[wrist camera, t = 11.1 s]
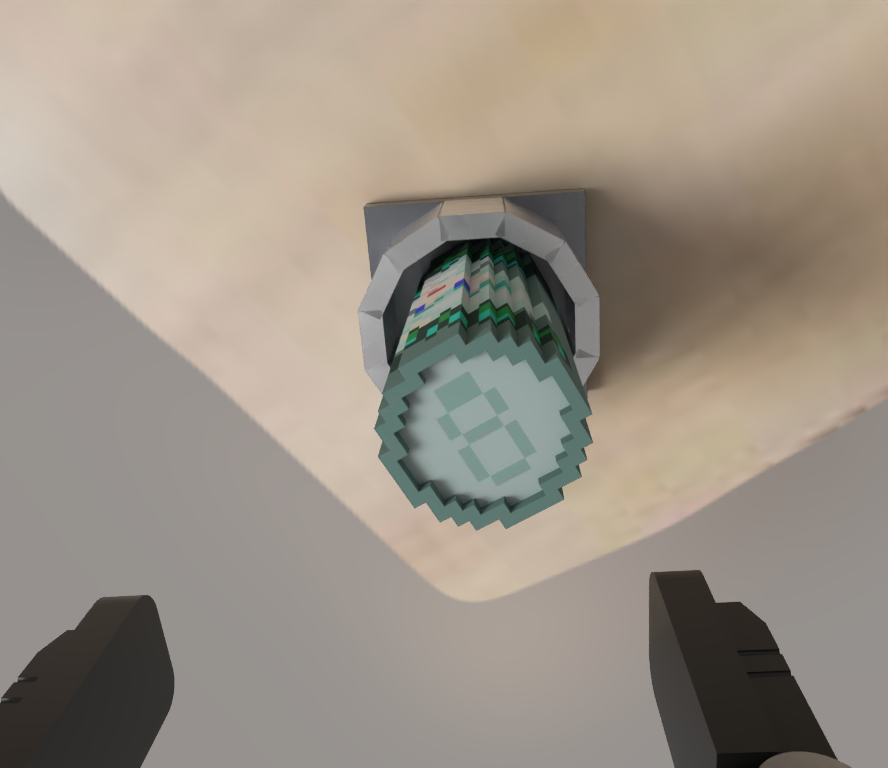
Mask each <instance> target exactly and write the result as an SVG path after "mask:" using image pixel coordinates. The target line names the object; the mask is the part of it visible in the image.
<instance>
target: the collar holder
mask: <svg viewBox="0 0 888 768" xmlns="http://www.w3.org/2000/svg"><path fill="white" fill-rule="evenodd" d="M364 215H365V224H366V233H367V242H368V252H369V261H370V270H371V279H372V281H371V283H370V285H369V287H368V289H367V291H366V294H365V296H364V298H363V300H362V302H361V305H360V307H359V309H358V317H359V325H360V334H361V342H362V351H363V359H364V368H365V370H366V371H365V372H366V373H367V374H368V376H369V377H370V378H371V380H372V381H373V382H374V384H375V385H376V386H377V388H378V389H379V390H380V392H381V393H382V392H383V389H384V386H385V383H386V380H387V377H388V374H389V371H390V368H391V365H392V362H393V359H394V356H395V353H396V350H397V347H398V345H399V342H400V339H401V336H402V333H403V330H404V327H405V324H406V321H407V318H408V315H409V312H410V309H411V306H412V303H413V300H414V297H415V294H416V291H417V288H418V285H419V282H420V279H421V277H423V276H424V275H426V274H427V273H428V270H429V266H430V263H431V261H432V260H434V259H435V258H437V257H439V256H440V255H442V254H444V253H445V252H447V251H448V250H450V249H452V248H453V247H455V246H457V245H458V244H460V243H461V242H463V241H465V240H466V239H469V240H470V242H471V243H472V245H475V244H477V243H478V242H480V241H482V240H483V239H485V238H489V239H490V241H491V242H492V244H494V243H495V242H497V241H499V240H501V242H502V243H503V245H504V247H506V246H507V245H509V244H511V243H513V244H514V246H515V248H516V249H517V251H518V253H519V254H520V256H521V257H523V256H524V255H526V254H528V253H529V254H530V256H531V257H532V259H533V261H534V262H535V264H536V266H537V267H538V269H539V271H540V273H541V274H542V276H543V278H544V279H545V281H546V283H547V284H548V286H549V288H550V290H551V293H552V296H553V299H554V302H555V305H556V308H557V311H558V313H559V316H560V319H561V322H562V325H563V328H564V331H565V334H566V337H567V340H568V343H569V346H570V349H571V352H572V355H573V358H574V361H575V364H576V367H577V370H578V373H579V376H580V379H581V382H582V385H583V388H584V391H585V394H586V397H587V379H588V377H589V375H590V374H591V372H592V370H593V369H594V367H595V365H596V363H597V362H598V360H599V357H600V301H599V294H598V292H597V291H596V289H595V287H594V285H593V284H592V282H591V280H590V278H589V276H588V275H587V273H586V231H585V191H584V190H583V189H568V190H554V191H540V192H526V193H512V194H498V195H484V196H470V197H456V198H441V199H427V200H413V201H399V202H385V203H371V204H366V205H365V206H364Z"/></svg>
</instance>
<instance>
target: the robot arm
mask: <svg viewBox="0 0 888 768" xmlns="http://www.w3.org/2000/svg"><path fill="white" fill-rule="evenodd" d="M649 661H650V670H651V678H652V685H653V690H654V694H655V698H656V702H657V706H658V709H659V713H660V717H661V720H662V724H663V727H664V731H665V734H666V738H667V742H668V745H669V748H670V752H671V756H672V759H673V763H674V767H675V768H851V767H850V766H848V765H846V764H844V763H842V762H840V761H838V759H837V758H836V756H835V754H834V752H833V751H832V749H831V747H830V745H829V743H828V741H827V739H826V737H825V735H824V733H823V731H822V730H821V728H820V726H819V724H818V722H817V720H816V718H815V716H814V714H813V713H812V710H811V708H810V707H809V705H808V703H807V701H806V699H805V697H804V695H803V693H802V691H801V690H800V688H799V686H798V684H797V682H796V680H795V678H794V676H791V671H790V669H789V667H788V665H787V663H786V661H785V659H784V657H783V655H782V654H780V652H779V648H778V646H777V644H776V642H775V640H774V638H773V636H772V634H771V632H770V631H769V629H768V627H767V625H766V623H765V622H764V621H762V620H761V619H760V618H759V617H758V616H756V615H755V614H754V613H753V612H752V611H750V610H749V609H748V608H747V607H746V606H744V605H743V604H742V603H741V602H727V603H715V600H714V598H713V596H712V594H711V592H710V589H709V587H708V585H707V583H706V581H705V578H704V576H703V574H702V572H701V571H700V570H691V571H670V572H651V574H650V579H649ZM173 694H174V673H173V668H172V664H171V660H170V656H169V652H168V648H167V645H166V641H165V637H164V633H163V629H162V626H161V622H160V618H159V614H158V611H157V607H156V604H155V602H154V600H153V599H152V598H151V597H150V596H148V595H140V596H120V597H102V598H100V599H99V600H97V601H96V603H95V604H94V605H93V607H92V608H91V609H90V610H89V612H88V613H87V614H86V615H85V617H84V618H83V619H82V621H81V622H80V623H79V625H78V626H77V627H76V629H75V630H67V631H66V632H64V633H63V634H62V635H60V636H59V637H58V638H56V639H55V640H54V641H52V642H51V643H50V644H48V645H47V646H46V647H44V648H43V649H42V650H41V651H39V652H38V653H37V654H36V655H35V657H34V658H33V659H32V660H31V662H30V663H29V664H28V665H27V667H26V668H25V669H24V670H23V672H22V673H21V674H20V675H19V677H18V682H15V683H13V684H12V685H11V687H10V688H9V689H8V690H7V692H6V693H5V694H4V695H3V697H2V698H1V703H0V768H140V767H141V765H142V763H143V761H144V759H145V757H146V755H147V753H148V751H149V749H150V748H151V746H152V744H153V742H154V740H155V738H156V736H157V734H158V732H159V730H160V728H161V726H162V724H163V722H164V720H165V718H166V716H167V714H168V712H169V709H170V707H171V704H172V699H173Z"/></svg>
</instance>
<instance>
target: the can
mask: <svg viewBox="0 0 888 768" xmlns="http://www.w3.org/2000/svg"><path fill="white" fill-rule="evenodd" d="M382 395H383V398H382V401H381V404H380V407H379V410H378V412H379V416H378V419H377V422H376V425H375V428H374V429H375V431H376V432H377V434H378V435H379V436H380V438H381V439H382V445H381V448H380V452H379V455H378V457H379V459H380V460H381V462H382V463H383V464H384V466H385V467H386V469H387V470H388V471H389V473H390V474H391V476H392V477H393V478H394V480H395V481H396V483H397V484H398V486H399V487H400V488H401V490H402V491H403V493H404V494H405V495H406V497H407V498H408V500H409V501H410V502H411V504H412V505H413V507H414V508H416V507H418V506H420V505H422V504H424V503H427V505H428V506H429V508H430V509H431V510H432V512H433V513H434V515H435V516H436V517H437V519H438V520H439V522H442V521H444V520H446V519H448V518H450V517H452V518H453V520H454V521H455V523H456V524H457V526H458V527H459V526H461V525H462V524H464V523H466V522H468V521H470V522H471V524H472V525H473V527H474V528H475V529H476V531H477V530H479V529H481V528H483V527H485V526H487V525H489V524H491V523H493V522H495V521H496V520H498V519H499V520H500V521H501V523H502V524H503V526H504V527H505V529H507V528H509V527H511V526H513V525H515V524H517V523H519V522H521V521H523V520H525V519H527V518H529V517H531V516H533V515H535V514H537V513H539V512H541V511H543V510H545V509H547V508H548V507H550V506H552V505H554V504H556V503H558V502H560V501H562V500H564V496H563V491H562V487H563V486H565V485H567V484H569V483H571V482H573V481H575V480H577V479H578V478H580V477H582V476H581V472H580V468H579V464H580V463H582V462H584V461H586V460H587V457H586V453H585V450H584V447H586V446H588V445H590V444H592V443H593V441H592V438H591V435H590V431H589V428H588V425H587V422H586V417H588V416H590V415H592V412H591V409H590V406H589V403H588V400H587V397H586V394H585V391H584V388H583V385H582V382H581V379H580V376H579V373H578V370H577V367H576V364H575V361H574V358H573V355H572V352H571V349H570V346H569V343H568V340H567V337H566V334H565V331H564V328H563V325H562V322H561V319H560V316H559V313H558V311H557V308H556V305H555V302H554V299H553V296H552V293H551V290H550V288H549V286H548V284H547V283H546V281H545V279H544V278H543V276H542V274H541V273H540V271H539V269H538V267H537V266H536V264H535V262H534V261H533V259H532V257H531V256H530V254H529V253H528V254H526V255H524V256H523V257H521V256H520V254H519V253H518V251H517V249H516V248H515V246H514V244H513V243H511V244H509V245H507V246H506V247H504V245H503V243H502V242H501V240H499V241H497V242H495V243H494V244H492V242H491V241H490V239H489V238H485V239H483V240H482V241H480V242H478V243H477V244H475V245H472V243H471V242H470V240H469V239H466V240H465V241H463V242H461V243H460V244H458V245H457V246H455V247H453V248H452V249H450V250H448V251H447V252H445V253H444V254H442V255H440V256H439V257H437V258H435V259H434V260H432V261H431V263H430V266H429V270H428V273H427V274H426V275H424V276H423V277H421V279H420V282H419V285H418V288H417V291H416V294H415V297H414V300H413V303H412V306H411V309H410V312H409V315H408V318H407V321H406V324H405V327H404V330H403V333H402V336H401V339H400V342H399V345H398V347H397V350H396V353H395V356H394V359H393V362H392V365H391V368H390V371H389V374H388V377H387V380H386V383H385V386H384V389H383V392H382Z"/></svg>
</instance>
